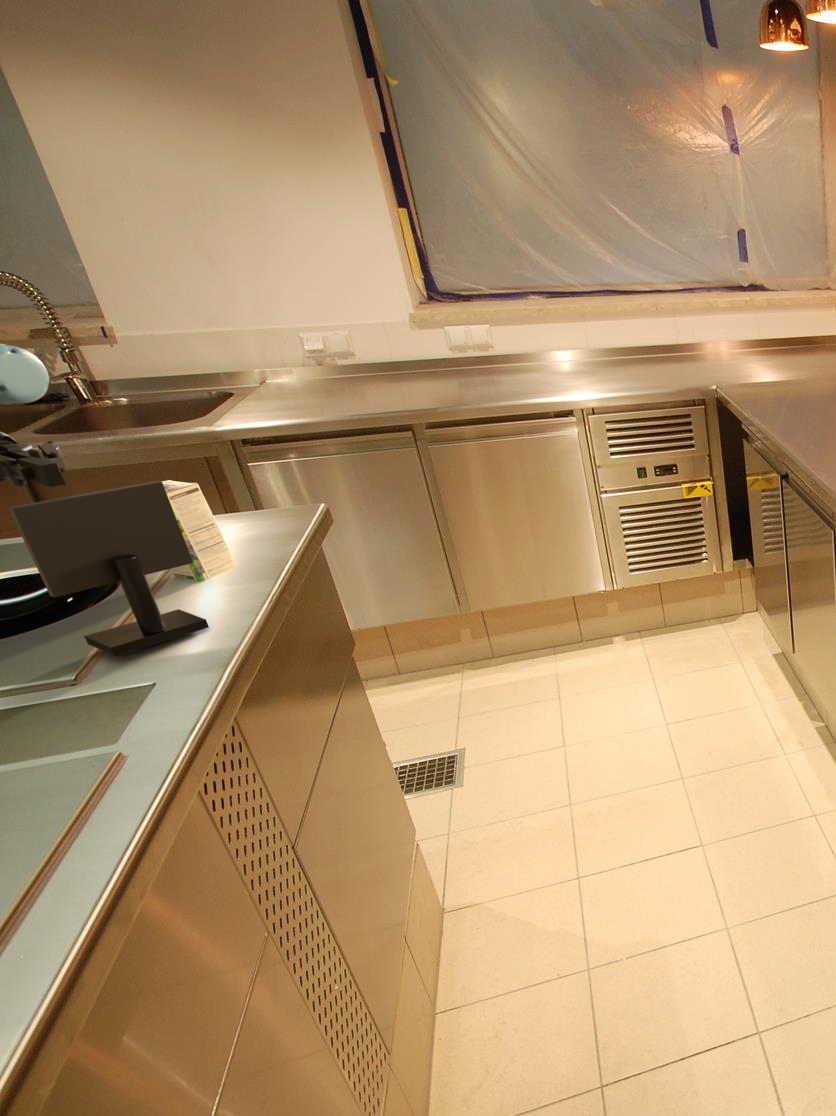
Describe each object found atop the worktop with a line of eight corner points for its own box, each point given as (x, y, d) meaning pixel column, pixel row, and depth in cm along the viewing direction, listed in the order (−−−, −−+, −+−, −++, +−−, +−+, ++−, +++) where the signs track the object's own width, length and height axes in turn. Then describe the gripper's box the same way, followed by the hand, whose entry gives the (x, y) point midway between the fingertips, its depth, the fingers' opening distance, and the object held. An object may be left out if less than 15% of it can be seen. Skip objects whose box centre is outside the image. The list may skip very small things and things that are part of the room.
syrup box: (175, 583, 126) (125, 492, 118) (213, 566, 131) (167, 477, 123) (205, 587, 125) (156, 495, 117) (242, 570, 130) (198, 481, 122)
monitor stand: (114, 656, 104) (76, 571, 99) (87, 644, 107) (49, 561, 102) (209, 627, 112) (178, 548, 107) (182, 617, 115) (150, 539, 110)
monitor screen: (54, 597, 100) (12, 508, 95) (49, 595, 100) (7, 506, 96) (193, 563, 111) (162, 481, 107) (188, 561, 112) (157, 480, 107)
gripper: (49, 469, 120) (131, 492, 111) (-83, 490, 110) (-5, 517, 100) (25, 416, 117) (107, 435, 108) (-114, 432, 106) (-36, 455, 97)
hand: (53, 475), depth 104 cm, fingers closed
